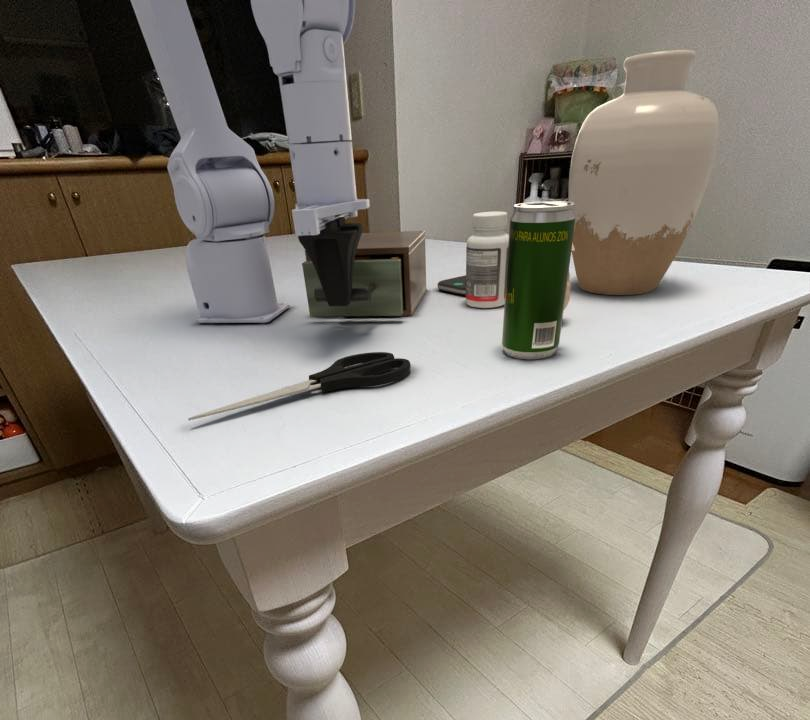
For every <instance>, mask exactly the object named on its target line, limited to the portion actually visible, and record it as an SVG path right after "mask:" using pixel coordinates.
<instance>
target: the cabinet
mask: <svg viewBox="0 0 810 720" xmlns="http://www.w3.org/2000/svg"><path fill="white" fill-rule="evenodd" d="M382 254H403V263H404V285H405V301H404V303H403V314H402V315H401V316H400V317H412V316H413V314H414V312H415V311H416V309H417V307H418V306H419V304H420V302H421V301H422V298H423V297H424V296H425V294H426V292H427V260H426V259H427V258H426V257H427V256H426V231H425V230H408V231H381V232H380V231H378V232H376V231H375V232H362V234H361V237H360V240H359V243H358V246H357V250H356V255H382ZM304 255H305V261H311V259H310V257H309V255H308V254H307V252H306V250H305V249H304ZM316 317H318V318H319V317H322V318H323V317H325V318H326V317H327V318H328V317H330V318H332V317H339V316H314V318H316Z"/></svg>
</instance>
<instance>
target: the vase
mask: <svg viewBox="0 0 810 720" xmlns="http://www.w3.org/2000/svg"><path fill="white" fill-rule="evenodd" d="M696 57H697V53H696V51H695V50H692V49H671V50H660V51H652V52H651V51H650V52H645V53H639V54H635V55H631V56H628V57H626V58H625V60H624V61H623V69H624V71H625V83H624V90H623V93H622V94H621V95H619V96H618V97H615V98H613V99H611V100H609V101H607V102H605V103H603V104H601V105H598V106H596V107H595V108H594V109H593V110H591V112H589V113H588V115H587V116H586V117H585V119H584V121H583V122H582V124H581V126H580V129H579V132H578V134H577V136H576V139H575V143H574V146H573V151H572V154H571V160H570V168H569V175H568V176H569V177H568V195H567V196H568V201H567V202H573V203H575V205H574V208H573V210H574V213H575V217H576V220H575V227H574V235H573V245H574V249H575V251H572V252H571V256H572V261H573V265H574V266H573V267H574V271H575V276H576V279H577V282H578V286H579V288H580V289H581V290H582V291H585V292H588V293H592V294H597V295H607V296H633V295H642V294H647V293H651V292H653V291H655V290H656V288H657V287H658V286H659V284H660V283H661V281H662V280H663V279H664V277H665V275H666V273H667V272H668V270H669V268H670V267H671V265H672V263H673V261H674V260H675V258H676V256H677V255H678V253H679V251H680V250H681V247H682V245H683V243H684V241H685V239H686V238H687V236H688V234H689V231H690V229H691V228H692V225H693V222H694V221H695V218H696V216H697V213H698V211H699V208H700V206H701V203H702V200H703V198H704V196H705V193H706V190H707V187H708V184H709V182H710V179H711V175H712V172H713V169H714V167H715V161H716V156H717V153H718V146H719V138H720V117H719V111H718V109H717V106H716V104H715V103H714V102H713V101H712V100H711V99H710V98H708V97H705V96H703V95H700V94H699V93H695V92H691V91H688V90H686V89H685V87H686V82H687V78H688V74H689V70H690V68H691V66H692V64H693V63H694V62H695V60H696Z"/></svg>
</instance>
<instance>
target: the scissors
mask: <svg viewBox="0 0 810 720" xmlns="http://www.w3.org/2000/svg"><path fill="white" fill-rule="evenodd" d="M411 366H412V364H411V361H410V360H409V359H406V358H400V357H399V358H398V357H397V358H395V355H394V353H391V352H388V351H372V352H363V353H357V354H351V355H348V356H344V357H341V358H339V359H337V360H335V361H334V362H333V363H332V364H331V365H330V366H329V367H327V368H325V369H323V370H321V371H318V372H315V373H313V374H309V375H308V380H305V381H302V382H298V383H294V384H290V385H288V386H285V387H281V388H280V389H276V390H273V391H270V392H266V393H263V394H260V395H257V396H253V397H251V398H246V399H244V400H240V401H238V402H237V401H236V402H234V403H230V404H228V405H225V406H221V407H218V408H215V409H212V410H209V411H206V412H202V413H200V414H196V415H193V416H190V417H188V418H187V420H188V421H193V420H197V419H202V418H205V417H209V416H215V415H218V414H222V413H226V412H230V411H234V410H238V409H242V408H246V407H250V406H254V405H257V404H262V403H266V402H269V401H272V400H277V399H280V398H284V397H288V396H289V397H290V396H293V395H298V394H301V393H304V392H308V391H312V390H316V389H321V392H322V393H327V392H331V391H334V390H339V389H346V388H347V389H348V388H361V387H362V388H363V387H364V388H365V387H378V386H383V385H387V384H390V383H393V382H396V381H399V380H400V379H402V378H405V377H406V376H407V375H408V374H409V373H410V371H411Z"/></svg>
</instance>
